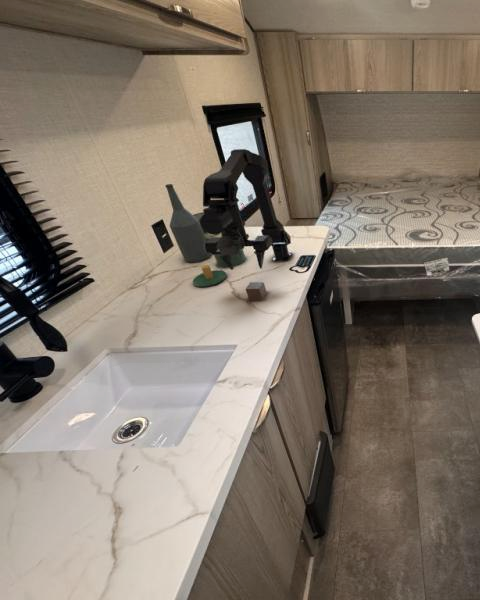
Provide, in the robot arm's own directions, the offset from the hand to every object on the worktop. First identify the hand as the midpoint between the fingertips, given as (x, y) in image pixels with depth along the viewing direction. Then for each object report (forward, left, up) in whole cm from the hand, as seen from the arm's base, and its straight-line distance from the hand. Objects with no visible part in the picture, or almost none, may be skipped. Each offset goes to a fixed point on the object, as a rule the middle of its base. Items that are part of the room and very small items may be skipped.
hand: (246, 268), depth 104 cm
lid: (-13, -21, -10) cm, 26 cm away
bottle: (-33, -35, -11) cm, 49 cm away
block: (0, +1, -10) cm, 11 cm away
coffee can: (-45, -34, -11) cm, 57 cm away
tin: (-28, -19, -10) cm, 35 cm away
